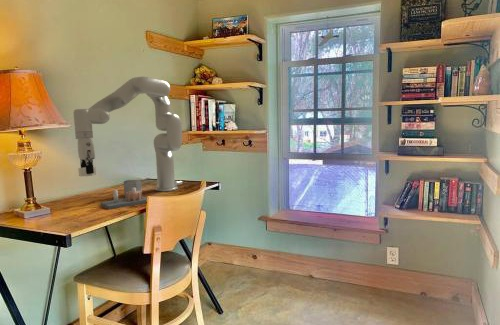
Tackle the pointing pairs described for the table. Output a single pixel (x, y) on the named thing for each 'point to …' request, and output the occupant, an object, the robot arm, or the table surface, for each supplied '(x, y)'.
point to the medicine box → (132, 185)
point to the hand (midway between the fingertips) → (87, 172)
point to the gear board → (125, 199)
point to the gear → (83, 172)
